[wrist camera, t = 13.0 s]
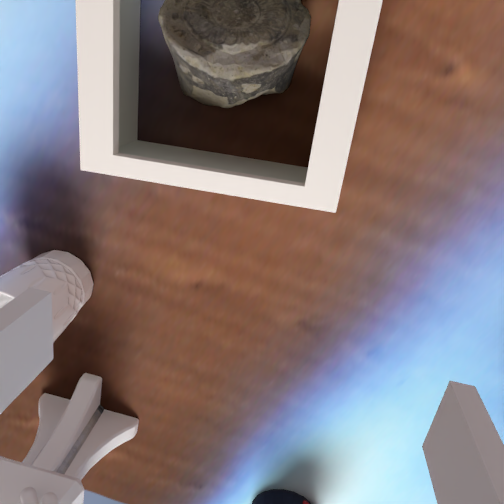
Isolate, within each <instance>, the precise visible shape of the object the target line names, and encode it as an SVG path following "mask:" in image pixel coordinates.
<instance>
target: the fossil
mask: <svg viewBox="0 0 504 504" xmlns="http://www.w3.org/2000/svg"><path fill="white" fill-rule="evenodd" d="M158 20H159V23H160V25H161V28H162V32H163V36H164V38H165V41H166V43H167V46H168V48H169V50H170V52H171V55H172V57H173V60H174V64H175V67H176V71H177V75H178V79H179V83H180V87H181V90H182V92H183V93H184V95H187V96H190V97H191V98H193V99H195V100H197V101H198V102H199V103H203V104H204V105H209V106H212V105H215V106H220V107H223V108H231V107H233V106H236V105H240V104H243V103H245V102H246V101H247V100H250V99H254V98H256V97H258V96H260V95H262V94H263V95H267V94H274V93H283V92H284V91H285V90H286V89H288V87H289V85H290V83H291V80H292V76H293V73H294V70H295V67H296V63H297V60H298V58H299V56H300V53H301V51H302V48H303V46H304V44H305V42H306V41H307V39H308V36H309V33H310V20H311V16H310V14H309V11H308V10H307V9H306V8H305V7H304V6H303V5H302V3H301V0H165V1H164V3H163V5H162V7H161V8H160V11H159V15H158Z"/></svg>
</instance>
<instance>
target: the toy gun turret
mask: <svg viewBox="0 0 504 504" xmlns="http://www.w3.org/2000/svg"><path fill="white" fill-rule="evenodd" d="M101 388H102V378H101V377H99V376H96V375H92V374H88V373H84V374H83V375H82V377H81V378H80V379H79V381H78V384H77V386H76V389H75V391H74V393H73V395H72V397H71V400H69V399H65V398H62V397H58V396H55V395H51V394H47V393H44V394H43V395H42V396H41V397H40V399H39V417H40V422H39V428H38V431H37V435H36V438H35V442H34V444H33V445H32V447H31V449H30V451H29V452H28V454H27V456H26V457H25V459H24V460H23V461H22V463H21V462H18V461H14V460H11V459H7V458H4V457H1V458H0V504H83V499H84V487H83V485H82V482H81V480H82V478H83V477H84V476H85V474H86V473H87V472H88V470H89V469H90V468H91V467H92V466H94V465H95V464H96V463H97V462H98V461H99V460H100V459H101V458H102V457H104V456H105V455H106V454H107V453H109V452H110V451H111V450H113V449H114V448H116V447H117V446H119V445H121V444H122V443H124V442H126V441H128V440H130V439H132V438H133V437H134V436H135V435H136V433H137V430H138V423H139V420H138V419H137V418H134V417H131V416H127V415H123V414H120V413H116V412H113V411H109V410H105V409H104V408H103V407H102V406H101V405H100V399H101Z"/></svg>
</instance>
